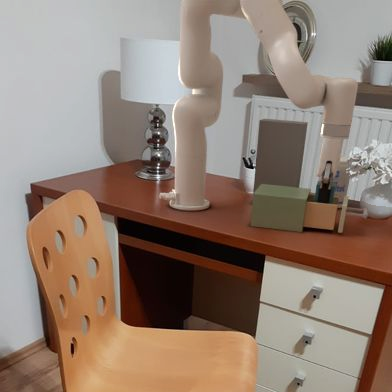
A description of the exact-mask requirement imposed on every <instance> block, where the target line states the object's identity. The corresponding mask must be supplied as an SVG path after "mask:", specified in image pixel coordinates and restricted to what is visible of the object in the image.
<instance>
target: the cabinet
mask: <svg viewBox="0 0 392 392" xmlns="http://www.w3.org/2000/svg"><path fill="white" fill-rule="evenodd" d="M311 192H312V189H311V188H307V187H299V188H297V187H287V186H277V185H267V184H261V185H260V186H259V187H258V189H257V190H256V191H255V192H254V194H253V193H252V199H253V203H252V202H251V216H250V227H254V228H255V227H256V228H265V229H271V230H272V229H274V230H281V231H290V232H298V233H302V232H303V230H304V228H305V227H303V222H304V215H305V208H306V201H307V199H308V196H309V194H312V193H311Z"/></svg>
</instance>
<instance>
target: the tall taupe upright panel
mask: <svg viewBox="0 0 392 392" xmlns="http://www.w3.org/2000/svg"><path fill="white" fill-rule="evenodd" d="M308 124H309V123H308V121H299V120H298V121H297V120H286V119H276V118H275V119H274V118H261V119H260V120H259V121H258V132H257V133H258V135H257V146H256V158H255V166H254V167H255V168H254V180H253V191H252V195H253V194H254V192H255V191H256V190H257V189H258V187H259V186H260V185H261V184H267V185H277V186H287V187H297V188H300V185H301V177H302V170H303V162H304V154H305V145H306V139H307V132H308V131H307V130H308ZM252 203H253V198H252V199H251V204H252Z"/></svg>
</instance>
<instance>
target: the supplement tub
mask: <svg viewBox="0 0 392 392" xmlns="http://www.w3.org/2000/svg"><path fill="white" fill-rule="evenodd" d="M348 158H349V157H346V156H341V157H340V161H339V165H338V169H337V172H336V175H335V177H334V178H333V180H332V182H335V183H336V187H335V193H334V196H337V197H339V202H338V208H337V209H342V206H343V200H344V196H348V189H349V185H350V181H351V180H350V179H351V175H350V176H349V174H348V173H346V169H347V160H348ZM321 179H322V175H321V176H320V175H319V177H318V181H321Z"/></svg>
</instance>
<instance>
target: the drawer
mask: <svg viewBox="0 0 392 392" xmlns="http://www.w3.org/2000/svg"><path fill="white" fill-rule="evenodd" d="M314 198H315V193H310V194H309V196H308V199H307V201H306V208H305V215H304V222H303V227H304V228H313V229H321V230H327V231H328V230H330V231H334V228H335V224H336V219H337V213H338V209H339V208H338V202H339V197H337V196H334V199H333V203H332V204H325V203H316V202H314ZM348 202H349V196H348V195H346V196H344V200H343V206H342V208H341V211H340V218H339V224H338V228H337V233H340V234H342V233H343V231H344V225H345V224H344V223H345V220H346V216H349V217H350V216H351V217H360V218H363V219H368V215H369V214H368V212H369V209H368V208H367V207H364V208H357V207H348ZM347 211H353V212H347ZM357 212H362V213H357Z"/></svg>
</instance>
